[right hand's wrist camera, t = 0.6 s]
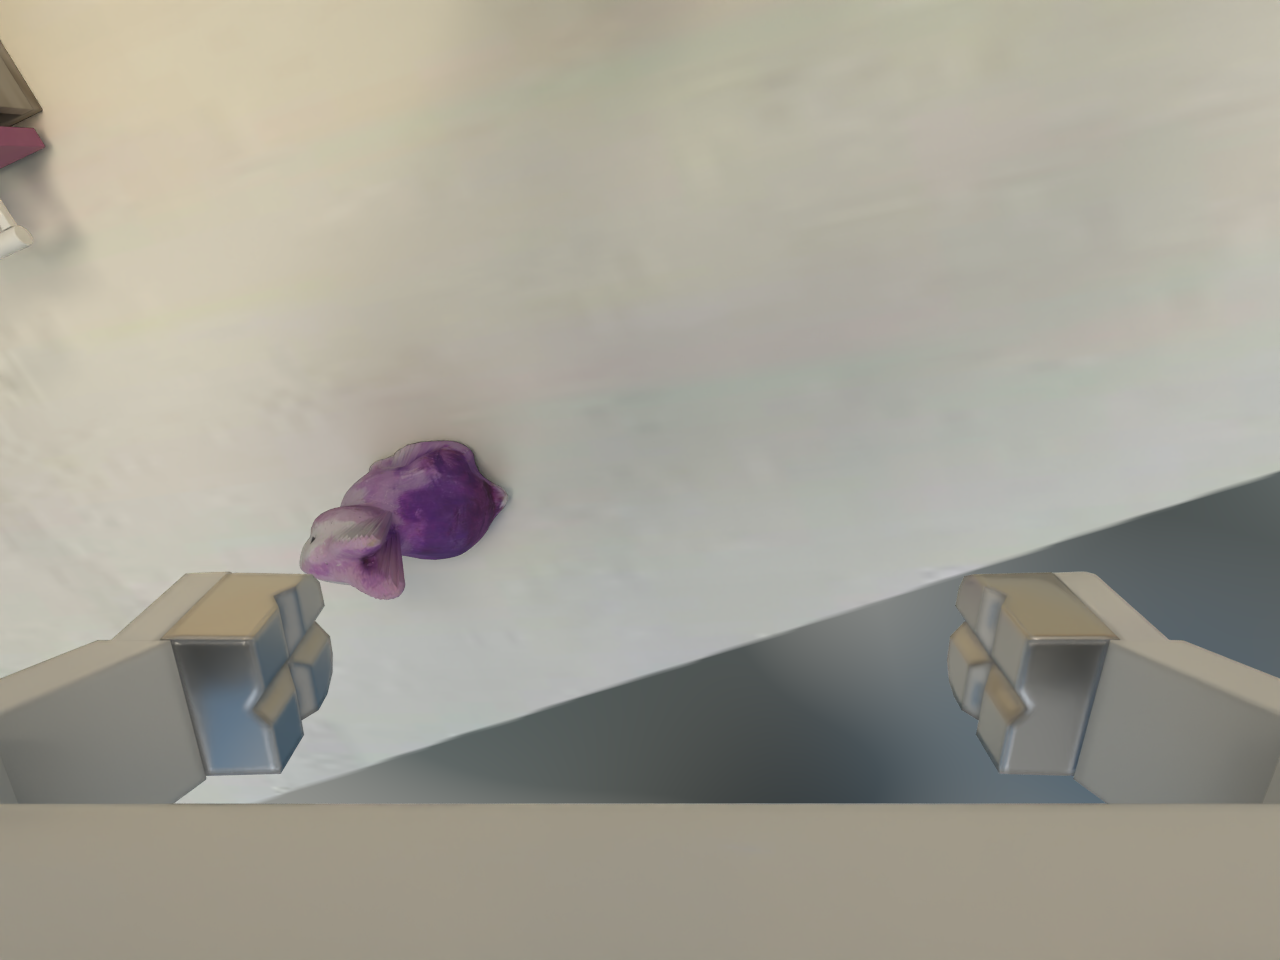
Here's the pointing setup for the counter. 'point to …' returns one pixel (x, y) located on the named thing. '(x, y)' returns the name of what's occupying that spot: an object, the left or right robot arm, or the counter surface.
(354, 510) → the figurine
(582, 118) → the counter surface
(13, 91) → the cabinet
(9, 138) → the drawer
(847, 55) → the counter surface
